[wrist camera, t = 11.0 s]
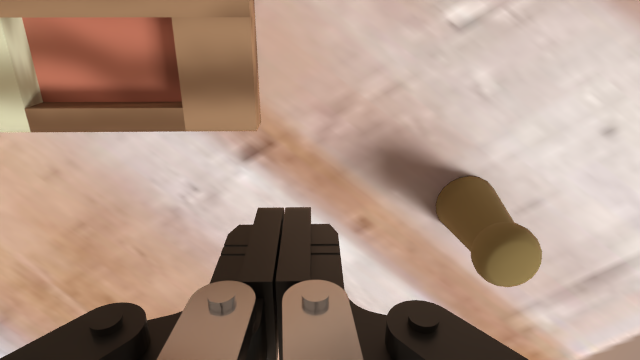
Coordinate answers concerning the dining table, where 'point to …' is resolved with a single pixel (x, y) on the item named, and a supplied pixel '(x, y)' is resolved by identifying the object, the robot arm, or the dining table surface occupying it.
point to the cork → (489, 232)
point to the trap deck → (128, 66)
